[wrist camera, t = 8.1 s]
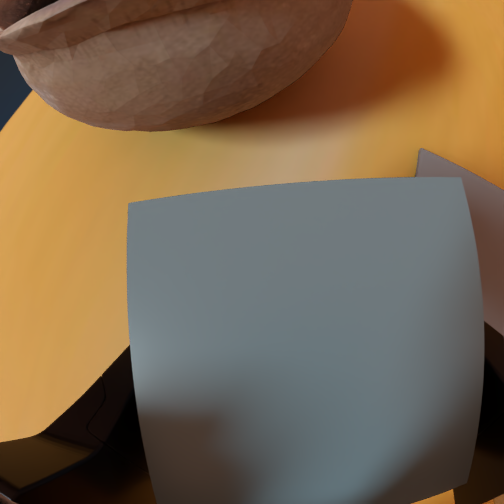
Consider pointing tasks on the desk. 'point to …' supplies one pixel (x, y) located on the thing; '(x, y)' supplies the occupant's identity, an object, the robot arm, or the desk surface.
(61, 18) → the ceramic bowl
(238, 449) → the grey blue block
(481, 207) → the rubber mat
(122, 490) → the robot arm
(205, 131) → the desk surface
